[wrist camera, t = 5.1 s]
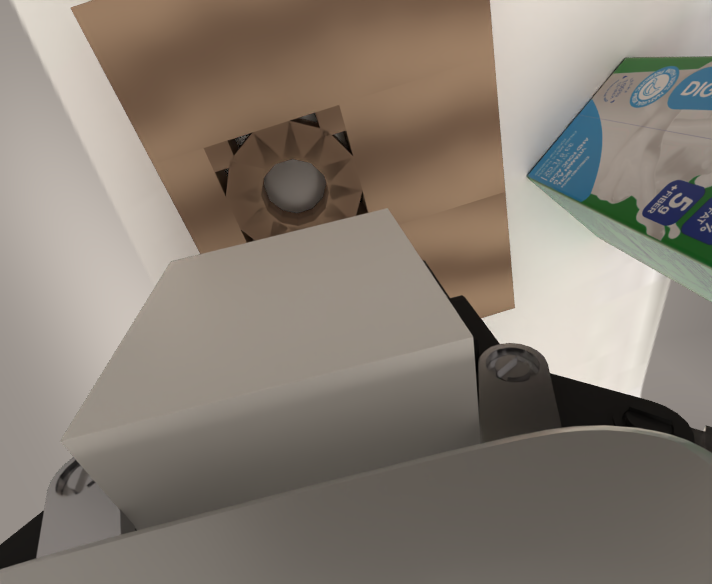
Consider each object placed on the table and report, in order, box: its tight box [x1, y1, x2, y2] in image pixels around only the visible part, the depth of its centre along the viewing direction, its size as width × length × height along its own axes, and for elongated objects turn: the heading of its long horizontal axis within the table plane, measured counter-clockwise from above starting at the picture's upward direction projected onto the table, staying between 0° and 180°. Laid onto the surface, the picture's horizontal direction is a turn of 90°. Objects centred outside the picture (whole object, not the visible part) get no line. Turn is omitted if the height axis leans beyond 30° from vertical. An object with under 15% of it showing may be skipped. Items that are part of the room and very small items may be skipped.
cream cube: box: [60, 208, 480, 530], centre depth 10 cm, size 6×6×6 cm
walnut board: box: [71, 0, 515, 318], centre depth 26 cm, size 25×20×2 cm
